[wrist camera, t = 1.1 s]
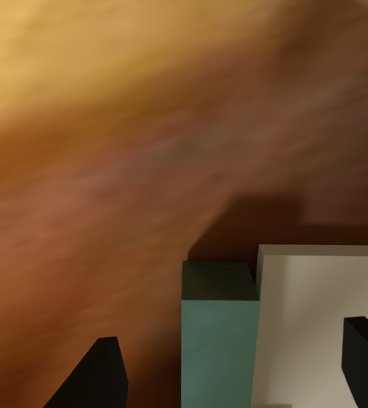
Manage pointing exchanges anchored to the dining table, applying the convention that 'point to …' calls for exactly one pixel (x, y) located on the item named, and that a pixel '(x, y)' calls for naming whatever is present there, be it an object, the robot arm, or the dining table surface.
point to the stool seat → (306, 323)
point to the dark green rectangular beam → (218, 334)
